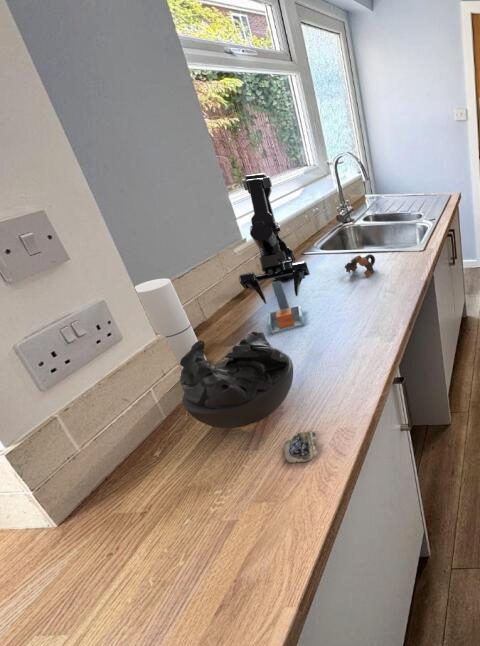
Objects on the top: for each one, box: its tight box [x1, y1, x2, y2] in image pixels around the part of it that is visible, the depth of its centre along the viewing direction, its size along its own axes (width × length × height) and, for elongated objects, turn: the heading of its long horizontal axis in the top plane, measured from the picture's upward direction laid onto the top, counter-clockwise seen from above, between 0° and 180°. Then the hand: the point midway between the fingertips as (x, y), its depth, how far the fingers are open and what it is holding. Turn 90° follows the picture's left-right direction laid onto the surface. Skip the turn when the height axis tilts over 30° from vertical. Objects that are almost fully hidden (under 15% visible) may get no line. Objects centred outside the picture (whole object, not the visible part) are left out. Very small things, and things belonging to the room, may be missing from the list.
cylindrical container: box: [134, 277, 210, 370], centre depth 100 cm, size 7×7×25 cm
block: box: [276, 307, 295, 329], centre depth 122 cm, size 4×4×4 cm
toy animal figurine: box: [344, 253, 376, 278], centre depth 155 cm, size 12×10×8 cm
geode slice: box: [283, 431, 318, 464], centre depth 80 cm, size 7×8×2 cm
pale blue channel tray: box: [267, 281, 305, 335], centre depth 123 cm, size 10×9×12 cm
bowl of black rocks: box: [179, 331, 294, 429], centre depth 86 cm, size 20×20×19 cm
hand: (281, 299), depth 124 cm, fingers open, 8 cm apart
